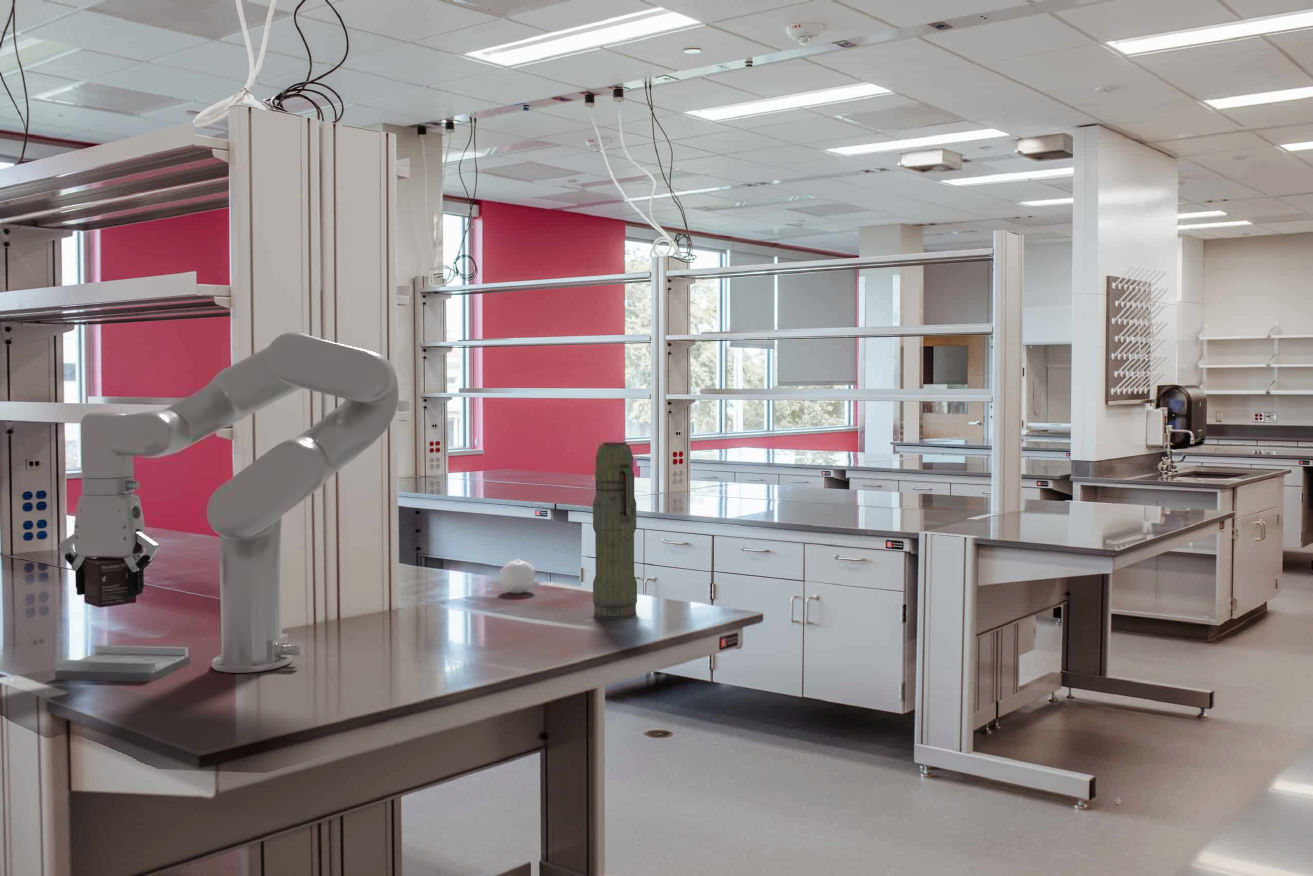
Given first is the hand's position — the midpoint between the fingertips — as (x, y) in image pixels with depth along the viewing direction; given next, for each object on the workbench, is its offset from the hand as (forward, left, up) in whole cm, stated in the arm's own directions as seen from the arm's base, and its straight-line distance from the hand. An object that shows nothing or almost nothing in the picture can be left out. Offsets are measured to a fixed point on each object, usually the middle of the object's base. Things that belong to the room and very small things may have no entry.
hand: (109, 593), depth 180 cm
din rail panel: (-2, 0, -13) cm, 13 cm away
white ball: (-51, -72, -13) cm, 89 cm away
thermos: (-76, -51, -13) cm, 93 cm away
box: (0, 0, -2) cm, 2 cm away
